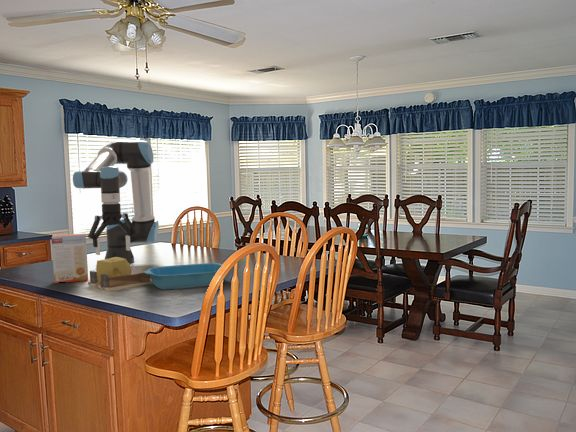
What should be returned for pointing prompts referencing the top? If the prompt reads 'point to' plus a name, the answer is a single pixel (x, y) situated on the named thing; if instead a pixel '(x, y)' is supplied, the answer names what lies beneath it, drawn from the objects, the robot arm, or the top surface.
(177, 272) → the casserole dish
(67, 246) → the cracker box
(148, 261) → the top surface
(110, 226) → the robot arm
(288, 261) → the top surface
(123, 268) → the cheese
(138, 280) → the slot board
